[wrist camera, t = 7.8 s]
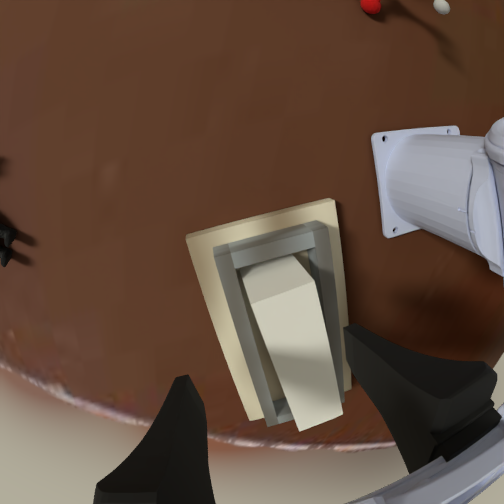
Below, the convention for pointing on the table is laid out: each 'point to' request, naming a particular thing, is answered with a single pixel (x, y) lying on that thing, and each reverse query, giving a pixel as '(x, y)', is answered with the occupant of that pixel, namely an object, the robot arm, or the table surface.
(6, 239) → the toy
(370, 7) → the molecular model
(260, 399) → the cradle
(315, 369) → the bar
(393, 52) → the table surface
